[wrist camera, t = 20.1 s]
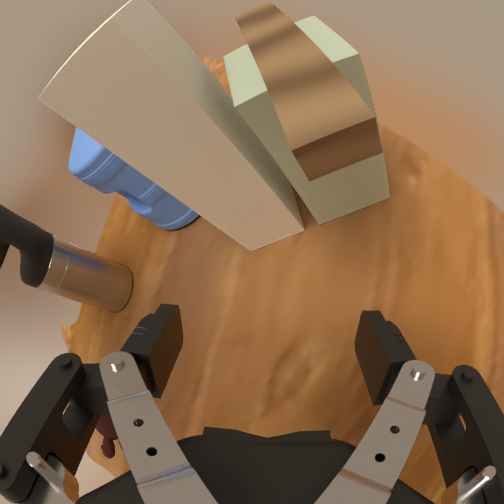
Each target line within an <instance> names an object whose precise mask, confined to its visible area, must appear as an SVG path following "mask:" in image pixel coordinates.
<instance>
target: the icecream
mask: <svg viewBox="0 0 504 504" xmlns="http://www.w3.org/2000/svg"><path fill="white" fill-rule="evenodd" d="M95 428H96V429H97V431H98V432H99V433H100V434H101V435H103V436H104V439H103V445H101V448H102V450H103V454H104V455H105V456H106V457H107V458H112V457H114V455H115V445H114V443H113V440H116V439H119V438H118V436H117V433H116V430H115V427H114V424H113V421H112V418H111V415H110V414H101V416H100V419H99V421H98V423H97V425H96V427H95ZM119 444H120V441H119ZM120 447H121V444H120ZM121 448H122V447H121ZM122 450H123V449H122Z"/></svg>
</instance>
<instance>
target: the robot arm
mask: <svg viewBox="0 0 504 504" xmlns="http://www.w3.org/2000/svg"><path fill="white" fill-rule="evenodd" d="M10 244H11V245H13V246H14V247H16V248H17V249H19V250H20V253H21V264H20V274H21V279H22V281H23V282H24V283H25V284H27V285H30V286H33V287H35V288H38V289H41V290H44V291H47V292H50V293H53V294H56V295H59V296H63V297H65V298H68V299H71V300H75V301H78V302H81V303H85V304H88V305H91V306H95V307H98V308H102V309H105V310H109V311H112V312H117V311H120V310H121V309H122V308H123V307H124V306H125V305H126V304H127V302H128V300H129V297H130V295H131V291H132V284H133V282H132V274H131V272H130V270H129V269H128V268H127V267H125V266H123V265H121V264H118V263H116V262H113V261H111V260H109V259H106V258H104V257H102V256H99V255H97V254H95V253H92V252H90V251H88V250H86V249H83V248H81V247H79V246H76V245H74V244H72V243H70V242H68V241H65V240H63V239H61V238H59V237H57V236H55V235H52V234H50V233H48V232H46V231H44V230H43V229H41V228H40V227H38V226H37V225H35V224H33V223H31V222H29V221H27V220H26V219H24V218H22V217H20V216H18V215H17V214H15V213H14V212H12V211H10V210H9V209H7V208H5V207H4V206H2V205H0V268H1V266H2V264H3V262H4V259H5V256H6V254H7V251H8V248H9V246H10ZM182 344H183V330H182V323H181V316H180V309H179V306H178V305H170V304H161V305H160V306H159V308H158V309H157V311H156V312H155V314H149V315H147V316H146V317H144V318H143V319H141V321H140V322H139V324H138V325H137V328H135V330H134V331H133V333H132V334H131V335H130V337H129V338H128V340H127V341H126V343H125V344H124V346H123V347H122V349H121V350H120V351H119V352H113V353H110V354H108V355H106V356H105V357H103V358H102V360H101V361H100V363H96V364H83V363H82V361H81V359H80V357H79V356H78V355H77V354H74V353H65V354H61V355H59V356H57V357H56V358H55V359H54V360H53V361H52V362H51V364H50V365H49V366H48V368H47V369H46V370H45V372H44V373H43V374H42V376H41V377H40V379H39V380H38V381H37V382H36V384H35V385H34V387H33V388H32V389H31V391H30V393H29V394H28V395H27V397H26V398H25V399H24V401H23V402H22V404H21V405H20V407H19V408H18V410H17V411H16V413H15V414H14V416H13V417H12V419H11V420H10V422H9V424H8V425H7V427H6V428H5V430H4V432H3V433H2V435H1V436H0V494H1V495H2V496H3V497H4V498H5V499H6V500H7V501H9V502H10V503H11V504H435V503H433V502H432V501H430V500H429V499H427V498H426V497H424V496H423V495H421V494H420V493H418V492H417V491H415V490H414V489H412V488H411V487H409V486H408V485H407V484H405V483H404V482H402V481H401V480H400V479H398V477H399V475H400V473H401V471H402V469H403V466H404V464H405V462H406V460H407V458H408V456H409V454H410V451H411V449H412V447H413V444H414V442H415V440H416V437H417V435H418V432H419V430H420V427H421V425H422V424H427V425H428V428H429V431H430V434H431V437H432V440H433V443H434V446H435V449H436V453H437V456H438V459H439V463H440V466H441V469H442V473H443V477H444V480H445V484H446V488H447V489H446V490H445V492H444V493H443V496H442V504H504V415H503V413H502V411H501V409H500V407H499V406H498V404H497V402H496V400H495V399H494V397H493V395H492V393H491V392H490V390H489V388H488V386H487V385H486V383H485V382H484V380H483V378H482V377H481V375H480V373H479V372H478V371H477V370H476V369H474V368H473V367H471V366H467V365H460V366H457V367H456V368H455V369H454V370H453V372H452V374H451V375H444V374H435V372H434V370H433V368H432V367H431V366H430V365H429V364H427V363H426V362H423V361H420V360H417V359H416V357H415V356H414V354H413V352H412V351H411V349H410V347H409V345H408V344H407V342H405V339H404V337H403V336H402V334H401V332H400V330H399V329H398V327H397V326H396V325H394V324H393V323H392V322H390V321H386V320H385V319H384V317H383V315H382V314H381V312H380V311H379V310H373V311H363V312H362V313H361V317H360V321H359V326H358V330H357V334H356V339H355V352H356V355H357V358H358V361H359V364H360V367H361V370H362V373H363V376H364V379H365V382H366V385H367V388H368V391H369V394H370V397H371V400H372V403H373V405H381V404H382V406H381V408H380V410H379V412H378V413H377V415H376V417H375V419H374V420H373V422H372V424H371V425H370V427H369V429H368V430H367V432H366V434H365V435H364V437H363V439H362V440H361V442H360V443H359V445H358V446H357V447H355V446H354V445H351V444H349V443H347V442H344V441H341V440H337V439H331V437H330V430H324V431H299V432H295V433H290V434H285V435H280V436H275V437H269V438H266V437H261V436H257V435H253V434H249V433H245V432H242V431H238V430H233V429H221V428H212V427H204V432H203V435H197V436H191V437H187V438H184V439H181V440H179V441H177V442H176V440H175V439H174V437H173V435H172V433H171V432H170V430H169V428H168V426H167V424H166V422H165V420H164V419H163V417H162V415H161V413H160V411H159V409H158V407H157V405H156V403H155V401H154V399H153V397H154V398H161V396H162V393H163V391H164V388H165V386H166V384H167V381H168V379H169V376H170V374H171V371H172V369H173V367H174V364H175V362H176V360H177V357H178V355H179V352H180V350H181V348H182ZM68 403H70V404H69V406H68V407H67V409H66V411H65V413H64V414H63V411H64V409H65V408H66V406H67V404H68ZM101 414H110V415H111V418H112V421H113V424H114V427H115V430H116V433H117V436H118V438H119V441H120V444H121V447H122V449H123V452H124V454H125V457H126V459H127V462H128V464H129V467H130V469H131V470H129V471H128V472H126V473H124V474H122V475H121V476H119V477H117V478H115V479H114V480H112V481H110V482H108V483H106V484H104V485H103V486H101V487H99V488H97V489H95V490H93V491H91V492H89V493H87V494H85V495H83V496H82V497H80V498H79V494H78V492H79V484H78V481H77V479H76V478H75V477H74V476H75V474H76V471H77V468H78V466H79V464H80V462H81V459H82V457H83V454H84V452H85V450H86V448H87V445H88V443H89V441H90V438H91V436H92V434H93V432H94V429H95V427H96V425H97V423H98V421H99V419H100V416H101ZM461 415H462V417H463V419H464V422H465V424H466V431H465V429H464V427H463V424H462V422H461V420H460V416H461ZM78 498H79V499H78Z"/></svg>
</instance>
